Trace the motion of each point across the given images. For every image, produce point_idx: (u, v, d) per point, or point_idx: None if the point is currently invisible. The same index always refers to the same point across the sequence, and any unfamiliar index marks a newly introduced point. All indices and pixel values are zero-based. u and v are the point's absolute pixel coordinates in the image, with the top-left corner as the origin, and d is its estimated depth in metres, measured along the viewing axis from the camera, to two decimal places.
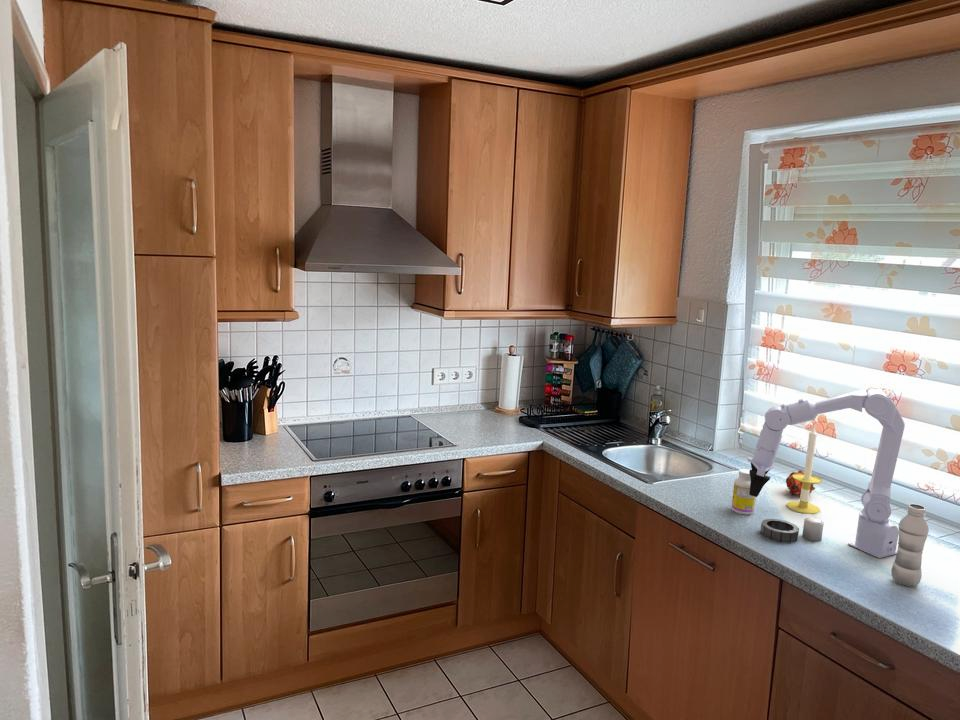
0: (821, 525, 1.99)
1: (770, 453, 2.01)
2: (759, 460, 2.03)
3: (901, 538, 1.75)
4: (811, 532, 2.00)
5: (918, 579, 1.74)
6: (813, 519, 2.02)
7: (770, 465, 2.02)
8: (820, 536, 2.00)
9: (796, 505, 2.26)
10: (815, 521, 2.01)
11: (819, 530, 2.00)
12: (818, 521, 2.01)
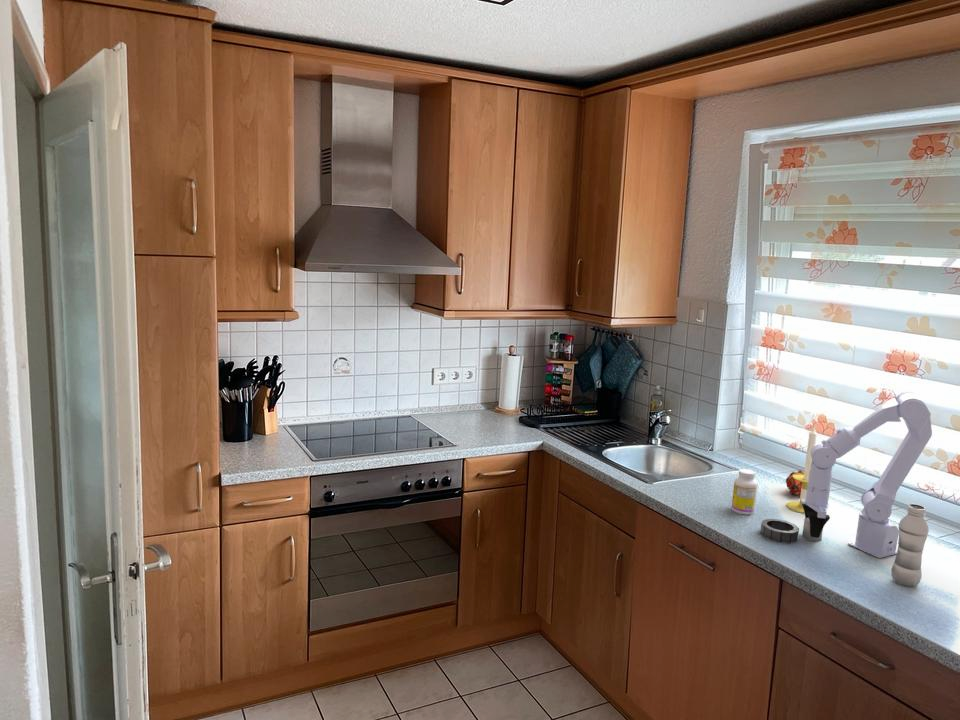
0: None
1: (824, 492, 1.97)
2: (814, 501, 1.98)
3: (901, 538, 1.75)
4: None
5: (918, 579, 1.74)
6: None
7: (826, 504, 1.98)
8: (820, 536, 2.00)
9: (796, 505, 2.26)
10: None
11: None
12: None
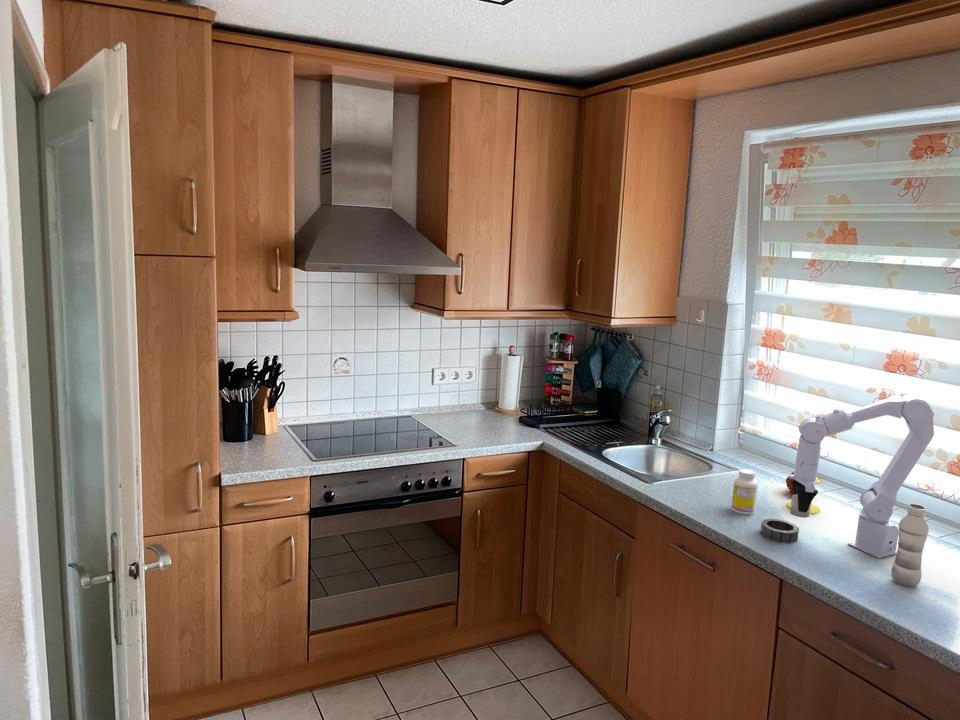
0: None
1: (813, 467, 1.96)
2: (802, 475, 1.97)
3: (901, 538, 1.75)
4: None
5: (918, 579, 1.74)
6: None
7: (814, 479, 1.97)
8: (808, 512, 1.99)
9: None
10: None
11: None
12: None
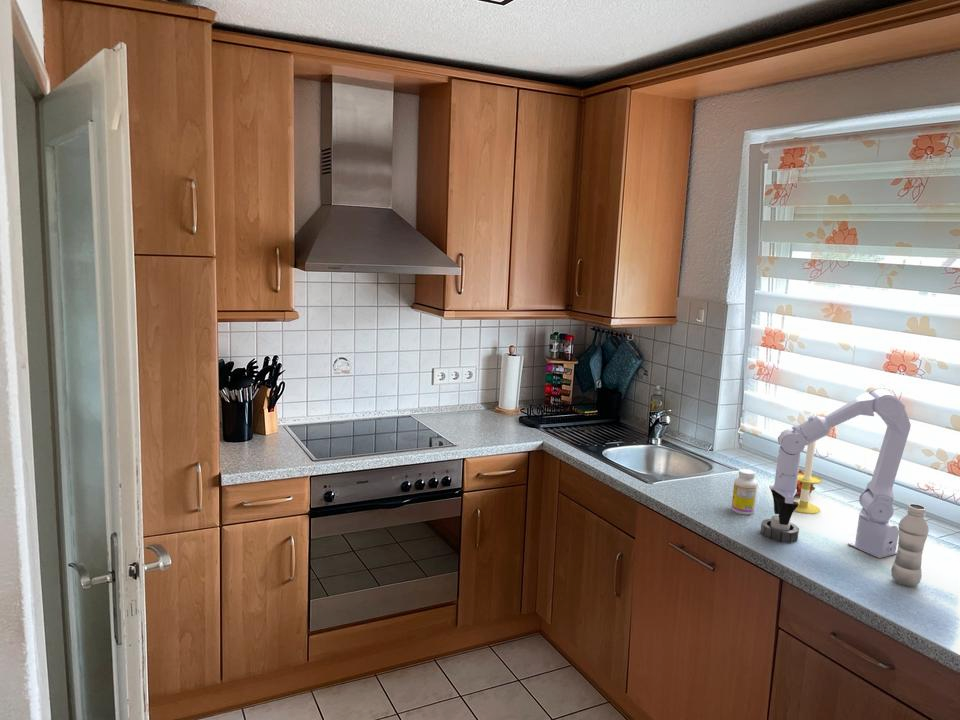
0: (788, 523, 2.00)
1: (792, 478, 1.97)
2: (782, 487, 1.98)
3: (901, 538, 1.75)
4: None
5: (918, 579, 1.74)
6: None
7: (794, 490, 1.98)
8: None
9: None
10: None
11: (786, 528, 2.00)
12: None
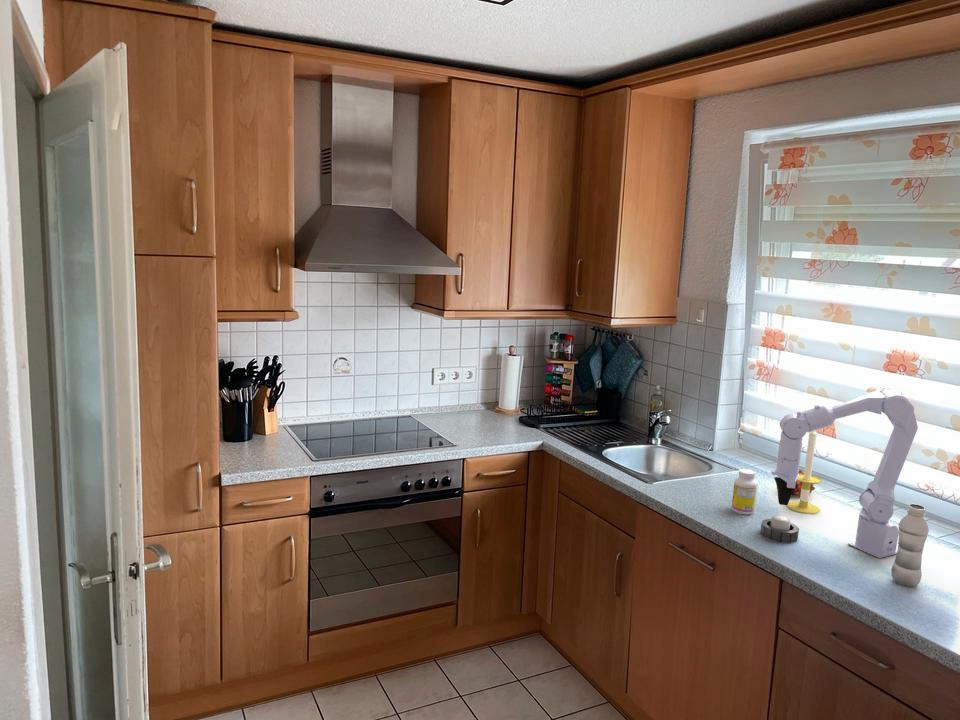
0: (788, 523, 2.00)
1: (794, 462, 1.96)
2: (784, 471, 1.97)
3: (901, 538, 1.75)
4: None
5: (918, 579, 1.74)
6: (780, 517, 2.03)
7: (796, 474, 1.97)
8: None
9: (796, 505, 2.26)
10: (782, 519, 2.01)
11: (786, 528, 2.00)
12: (785, 519, 2.01)
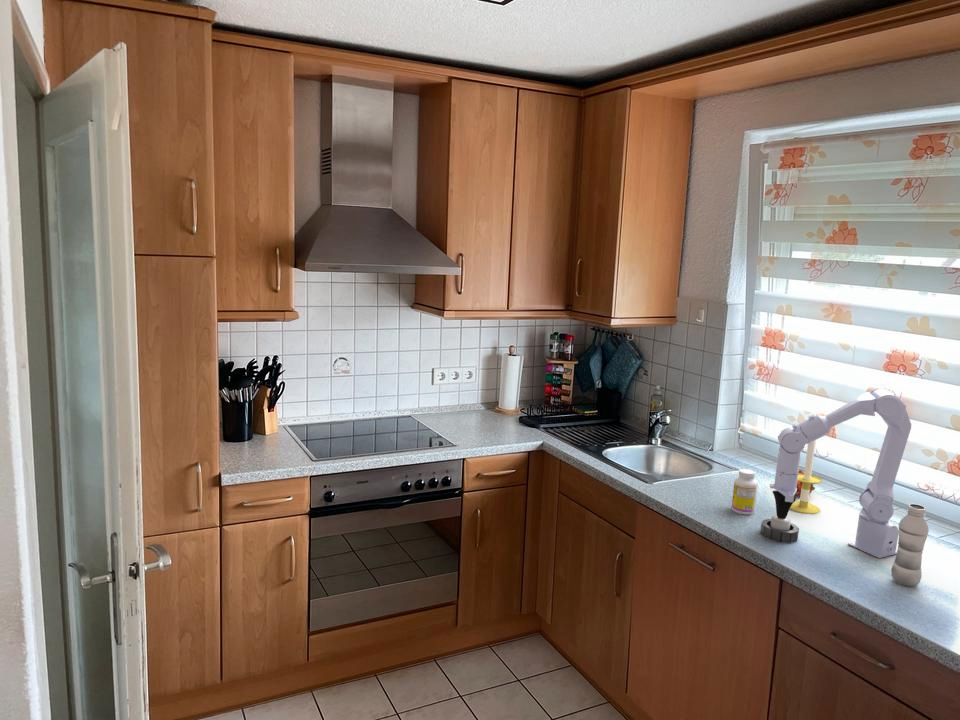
0: (788, 523, 2.00)
1: (793, 476, 1.97)
2: (782, 485, 1.98)
3: (901, 538, 1.75)
4: None
5: (918, 579, 1.74)
6: None
7: (794, 488, 1.98)
8: None
9: (796, 505, 2.26)
10: (782, 519, 2.01)
11: (786, 528, 2.00)
12: (785, 519, 2.01)
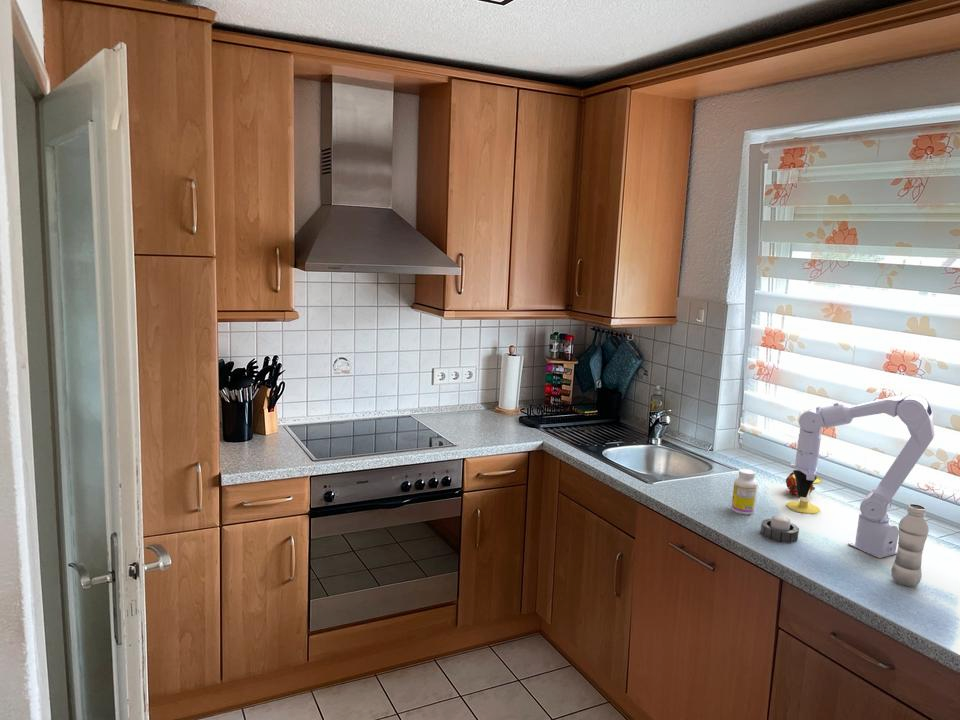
0: (788, 523, 2.00)
1: (813, 456, 2.02)
2: (803, 464, 2.03)
3: (901, 538, 1.75)
4: None
5: (918, 579, 1.74)
6: (780, 517, 2.03)
7: (815, 467, 2.03)
8: None
9: (796, 505, 2.26)
10: (782, 519, 2.01)
11: (786, 528, 2.00)
12: (785, 519, 2.01)
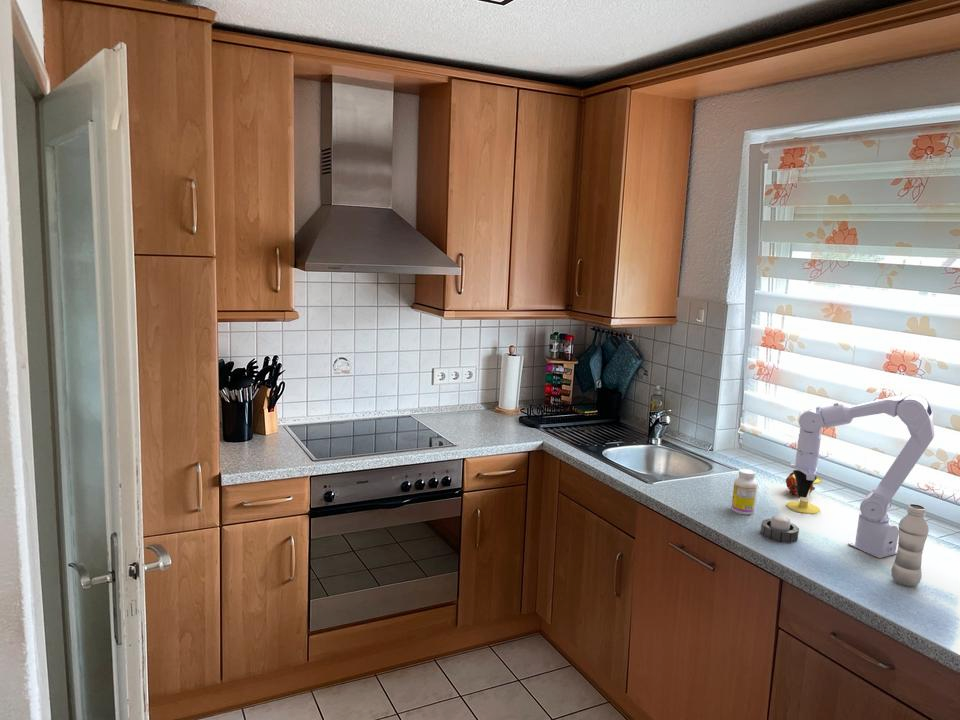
0: (788, 523, 2.00)
1: (813, 456, 2.02)
2: (803, 464, 2.03)
3: (901, 538, 1.75)
4: None
5: (918, 579, 1.74)
6: (780, 517, 2.03)
7: (815, 467, 2.03)
8: None
9: (796, 505, 2.26)
10: (782, 519, 2.01)
11: (786, 528, 2.00)
12: (785, 519, 2.01)
